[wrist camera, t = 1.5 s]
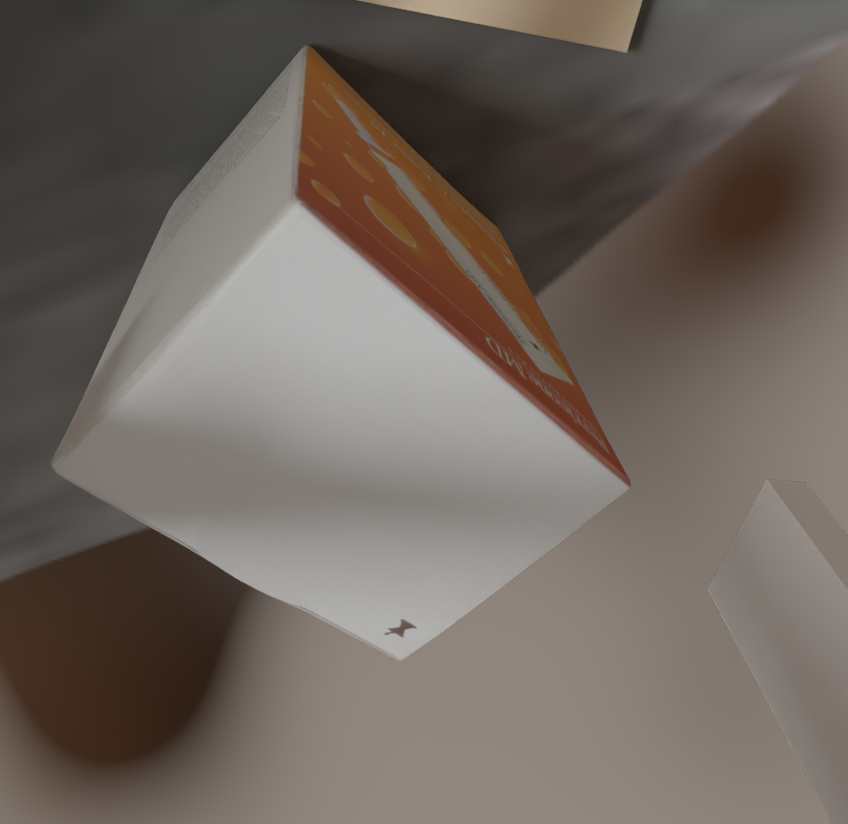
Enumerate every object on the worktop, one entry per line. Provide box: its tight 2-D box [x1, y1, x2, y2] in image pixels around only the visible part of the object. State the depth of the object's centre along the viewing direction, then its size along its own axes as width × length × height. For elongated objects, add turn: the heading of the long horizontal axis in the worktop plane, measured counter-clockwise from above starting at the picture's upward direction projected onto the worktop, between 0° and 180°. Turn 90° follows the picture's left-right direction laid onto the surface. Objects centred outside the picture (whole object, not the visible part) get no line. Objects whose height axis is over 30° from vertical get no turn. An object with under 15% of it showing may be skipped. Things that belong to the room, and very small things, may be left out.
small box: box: [51, 45, 630, 661], centre depth 19 cm, size 8×6×13 cm
